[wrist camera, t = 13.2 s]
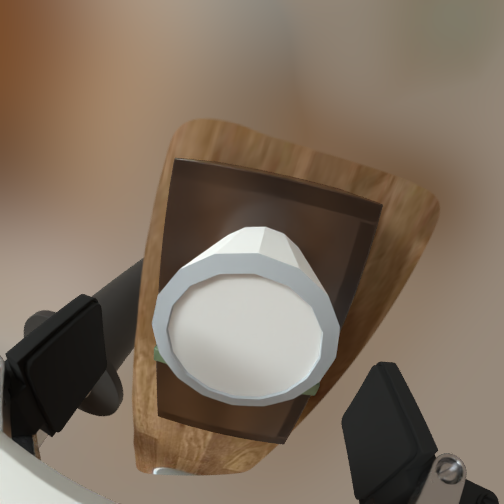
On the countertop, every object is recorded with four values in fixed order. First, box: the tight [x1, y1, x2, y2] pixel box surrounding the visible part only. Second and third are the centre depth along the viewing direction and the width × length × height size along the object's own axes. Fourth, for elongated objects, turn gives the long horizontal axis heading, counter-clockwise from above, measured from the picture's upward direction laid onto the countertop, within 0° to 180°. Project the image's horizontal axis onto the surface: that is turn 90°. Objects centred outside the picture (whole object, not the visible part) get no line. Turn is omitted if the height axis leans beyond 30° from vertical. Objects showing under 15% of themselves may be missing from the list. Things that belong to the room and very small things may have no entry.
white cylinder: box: [152, 227, 340, 406], centre depth 13 cm, size 7×7×7 cm
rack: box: [154, 158, 383, 444], centre depth 21 cm, size 12×22×14 cm, turn 168°
